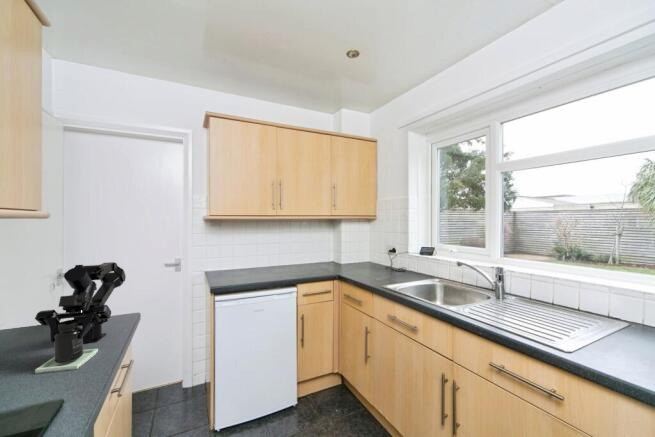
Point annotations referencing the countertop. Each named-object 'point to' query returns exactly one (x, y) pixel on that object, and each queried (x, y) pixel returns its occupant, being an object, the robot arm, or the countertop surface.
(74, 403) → the countertop surface
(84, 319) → the robot arm
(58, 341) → the supplement bottle
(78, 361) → the sage tray
